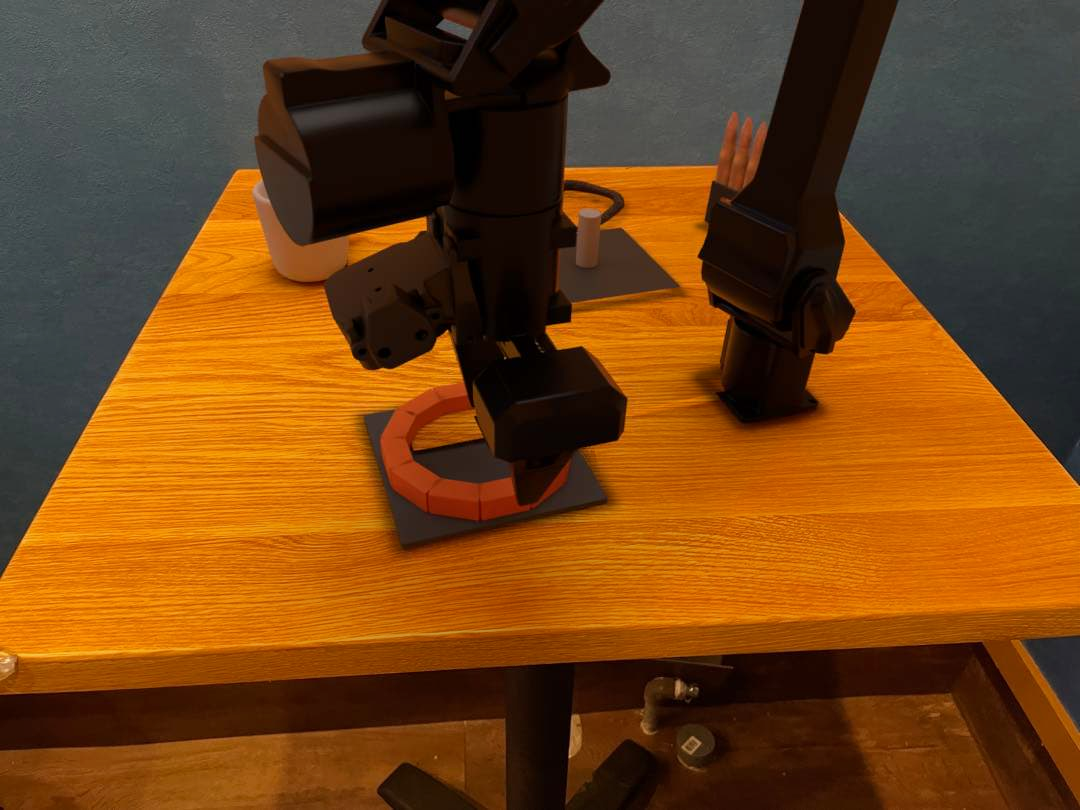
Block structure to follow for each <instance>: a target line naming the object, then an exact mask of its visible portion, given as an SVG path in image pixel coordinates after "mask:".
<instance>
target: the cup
mask: <svg viewBox="0 0 1080 810" xmlns="http://www.w3.org/2000/svg"><path fill="white" fill-rule="evenodd" d="M251 194H252V198H253V202H254V205H255V209H256V211H257V215H258V218H259V222H260V226H261V228H262V232H263V235H264V239H265V242H266V245H267V249H268V252H269V256H270V258H271V261H272V264H273V266H274V268H275V269H276V271H277V272H278V273H279V274H280V275H281V276H282V277H284V278H286V279H289V280H290V281H294V282H295V281H296V282H303V283H314V282H320V281H324V280H325V281H326V280H327V279H328V278H329V277H330V276H331V275H332V274H334V273H335V272H337V271H339V270H341V269H343V268H345V267H346V265H347V263H348V261H349V247H350V245H349V235H348V236H344V237H340V238H336V239H331V240H327V241H323V242H319V243H315V244H311V245H307V246H303V247H301V246H299V245H297V244H295V243H294V242H293V241H292V240H291V239H290V238H289V236H288V235H287V233H286V232H285V231H284V229H283V227H282V226H281V224H280V222H279V220H278V218H277V216H276V214H275V212H274V210H273V207H272V205H271V203H270V200H269V197H268V195H267V192H266V189H265V186H264V183H263V179H262V178H261V179H260V180H259V181H258V182H256V184H255V185H254V186H253V188H252V193H251Z"/></svg>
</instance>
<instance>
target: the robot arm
mask: <svg viewBox="0 0 1080 810" xmlns="http://www.w3.org/2000/svg"><path fill="white" fill-rule="evenodd" d="M605 1H606V0H380V2H379V4H378V6H377V8H376V10H375V12H374V14H373V16H372V18H371V20H370V21H369V24H368V26H367V28H366V29H365V32H364V33H363V35H362V38H361V46H362V48H363V49H364V50H365V51H366V52H365V53H358V54H351V55H342V56H334V57H326V58H315V59H314V58H308V57H300V56H289V57H284V58H283V57H281V58H274V59H267V60H266V61H265V62H264V63H263V65H262V72H263V79H264V85H265V91H266V94H265V95H264V96H263V97H262V98H261V99H260V102H259V107H258V111H257V112H258V113H257V135H254V136H253V142H254V143H253V144H254V150H255V155H256V160H257V165H258V168H259V172H260V177H261V180H262V179H263V183H264V186H265V189H266V192H267V195H268V197H269V200H270V203H271V205H272V207H273V210H274V212H275V214H276V216H277V218H278V220H279V222H280V224H281V226H282V227H283V229H284V231H285V232H286V233H287V235H288V236H289V238H290V239H291V240H292V241H293V242H294V243H295V244H297V245H299V246H301V247H303V246H307V245H311V244H315V243H319V242H323V241H327V240H331V239H336V238H340V237H344V236H348V237H349V236H352V235H356V234H360V233H364V232H368V231H372V230H373V231H374V230H376V229H381V228H384V227H388V226H393V225H398V224H400V223H404V222H410V221H414V220H418V219H421V218H425V219H426V230H420V231H419V232H418V234H416V236H414V237H413V238H412V239H410V240H407V241H402V242H397V243H394V244H392V245H390V246H387V247H385V248H383V249H381V250H379V251H377V252H375V253H373V254H370V255H368V256H366V257H364V258H362V259H360V260H358V261H355V262H353V263H352V264H349V265H347V266H345V267H344V268H343V269H341V270H339V271H337V272H335V273H334V274H332V275H331V276H330V277H329V278H328V279H325V282H324V284H323V290H324V293H325V296H326V300H327V303H328V308H329V310H330V313H331V317H332V319H333V320H334V322H335V324H336V326H337V327H338V329H339V330H340V332H341V334H342V336H343V337H344V339H345V340H346V342H347V343H348V345H349V349H350V353H351V355H352V357H353V358H354V359H355V360H356V361H358V362H359V363H360V365H361V367H362V368H363V369H364V370H367V371H377V370H381V369H386V370H394V369H396V368H398V367H400V366H403V365H405V364H407V363H409V362H411V361H413V360H415V359H417V358H419V357H421V356H423V355H426V354H427V353H430V352H431V351H433V349H434V347H435V345H436V343H437V341H438V340H437V339H438V338H440V337H441V336H442V335H444V334H445V333H446V332H448V335H449V338H450V343H451V345H452V349H453V351H454V352H453V353H454V355H455V358H456V362H457V365H458V369H459V371H460V375H461V379H462V382H464V386H465V389H466V392H467V396H468V399H469V402H470V405H471V406H472V407H474V408H473V409H474V410H475V415H473V418H474V421H475V422H476V425H477V427H478V428H479V431H480V432H481V436H482V438H484V439H485V441H486V444H487V446H488V447H489V449H490V450H491V451H492V453H493V455H494V457H495V458H498V459H501V460H504V461H507V462H508V465H509V470H510V475H511V480H512V485H513V489H514V493H515V498H516V501H517V503H518V505H519V506H525V505H530V504H534V503H536V502H538V501H539V499H540V498H541V497H542V495H543V494H544V493H545V492H546V490H547V489H548V488H549V486H550V485H551V484H552V482H553V481H554V480H555V478H556V477H557V476H558V475H559V473H560V472H561V471H562V469H563V468H564V467H565V465H566V464H567V463H568V462H569V460H570V459H571V458H572V457H573V456H574V454H575V453H576V452H577V451H578V450H579V451H580V450H581V449H584V448H589V447H594V446H598V445H603V444H609V443H613V442H618V441H619V439H620V438H621V437H622V435H623V433H624V432H625V426H626V416H627V408H628V399H629V398H628V397H627V395H626V394H625V392H623V390H622V389H621V387H620V386H619V385H618V383H617V381H615V380H614V378H613V377H612V375H611V374H610V372H609V371H608V370H607V369H606V367H605V366H604V364H603V363H602V361H600V359H599V358H598V357H596V355H594V354H593V353H591V352H590V351H589V350H588V349H587V348H585V347H584V346H583V345H580V346H574V347H568V348H562V349H559V348H557V346H556V344H555V342H553V340H552V339H551V337H550V335H549V334H548V333H547V327H549V326H555V325H562V324H568V323H569V324H570V323H572V313H573V312H572V311H573V303H570V301H569V300H568V299H567V297H566V296H565V295H564V293H563V292H562V291H561V289H560V288H559V274H560V254H561V248H568V247H576V234H577V233H578V232H577V226H578V225H577V224H575V223H574V221H572V220H571V218H570V217H569V216H568V215H567V213H565V212H564V191H565V190H564V180H565V173H566V172H565V171H566V170H565V168H566V151H567V150H566V148H567V131H568V130H567V129H568V109H569V93H573V92H577V91H584V90H589V89H595V88H601V87H605V86H606V85H608V84H609V82H610V80H611V77H612V76H611V75H612V74H611V70H610V69H609V68H608V67H607V66H606V65H605V64H603V62H602V61H601V60H599V58H598V57H596V56H595V55H594V54H593V52H591V50H590V49H589V48H588V46H587V45H586V44H585V42H584V40H583V38H582V35H581V33H580V32H579V31H580V29H581V28H582V27H583V26H584V25H585V24H586V23H587V22H588V20H589V19H590V18H591V17H592V16H593V15H594V14H595V12H596V11H597V10H598V9H599V8H600V7H601V5H603V3H604V2H605ZM899 1H900V0H803V1H802V5H801V9H800V12H799V15H798V19H797V22H796V26H795V30H794V34H793V37H792V40H791V44H790V48H789V51H788V56H787V58H786V62H785V66H784V68H783V73H782V76H781V80H780V83H779V88H778V91H777V95H776V99H775V102H774V106H773V109H772V113H771V116H770V119H769V120H770V121H769V124H768V127H767V134H766V138H765V141H764V145H763V149H762V152H761V156H760V159H759V163H758V167H757V170H756V173H755V175H754V178H753V179H752V180H751V181H750V182H749V183H748V184H747V185H746V186H745V187H744V188H743V189H742V190H741V191H740V192H739V193H738V194H737V195H736V196H735V197H734V198H733V199H732V200H731V201H730V202H726V201H718V202H717V203H716V204H715V205H714V207H713V208H712V210H711V212H710V219H709V223H708V228H707V233H706V236H705V238H704V242H703V244H702V246H701V248H700V250H699V252H698V254H697V259H699V260H700V261H702V262H701V269H700V273H701V274H700V275H701V281H702V282H704V283H705V286H706V289H707V295H708V302H709V305H710V306H711V307H713V308H715V309H718V310H720V311H721V312H724V313H725V314H727V315H729V319H727V323H726V328H725V333H724V339H723V345H722V348H721V354H720V359H719V364H720V365H719V366H720V367H719V369H720V370H721V371H722V373H721V378H720V383H721V386H722V388H723V390H722V391H716V392H714V394H715V395H716V396H717V397H718V399H720V401H721V402H722V403H723V404H724V405H725V406H726V407H727V408H728V409H729V411H730V412H731V413H732V414H733V415H734V416H735V417H736V419H737V420H738V421H740V423H743V424H746V425H748V424H753V423H757V422H762V421H768V420H772V419H773V420H774V419H777V418H782V417H787V416H791V415H796V414H800V413H806V412H810V411H816V410H818V408H819V404H820V402H819V400H818V399H817V398H816V396H814V395H813V394H812V393H811V391H809V390H808V389H807V385H808V381H809V378H810V374H811V372H812V367H813V363H814V360H815V357H816V355H817V354H818V355H825V356H826V355H829V354H831V353H832V354H833V352H834V349H835V346H836V343H838V342H839V341H841V340H843V339H844V337H845V335H846V333H847V332H848V331H849V329H850V326H851V324H852V322H853V319H854V318H855V316H856V312H857V310H856V308H855V307H854V306H853V304H852V303H851V301H850V299H849V298H848V296H847V294H846V293H845V291H844V290H843V289H842V287H841V285H840V283H839V282H838V281H837V278H838V273H839V270H840V266H841V262H842V257H843V253H844V250H845V245H846V239H845V234H844V229H843V225H842V220H841V216H840V211H839V206H838V202H837V197H836V193H837V189H838V185H839V181H840V179H841V176H842V172H843V169H844V166H845V163H846V161H847V157H848V154H849V151H850V148H851V145H852V143H853V139H854V136H855V133H856V131H857V127H858V125H859V122H860V121H859V120H860V118H861V115H862V112H863V109H864V106H865V104H866V100H867V98H868V94H869V91H870V88H871V85H872V82H873V79H874V76H875V73H876V71H877V67H878V64H879V61H880V58H881V56H882V55H881V54H882V53H883V49H884V47H885V42H886V40H887V37H888V34H889V31H890V28H891V26H892V22H893V19H894V16H895V13H896V10H897V7H898V4H899ZM444 20H446V21H449V22H451V23H453V24H454V23H455V24H456V25H460V26H462V27H464V28H467V29H470V30H472V31H471V33H470V35H469V37H468V38H464V37H461V36H460V35H457V34H454V33H453V32H449V31H447V30H444V29H442V28H440V27H438V26H439V25H440V24H441V23H442V22H443V21H444Z"/></svg>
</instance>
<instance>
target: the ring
mask: <svg viewBox="0 0 1080 810" xmlns="http://www.w3.org/2000/svg"><path fill="white" fill-rule="evenodd" d="M395 409H396V410H395ZM395 409H394V410H395V412H394V414H393V415H392V417H391V419H390V421H389V423H388V424H387V426H386V428H385V430H384V432H383V434H382V435H381V440H380V442H381V452H382V458H383V462H384V465H385V468H386V472H387V475H388V478H389V481H390V485H391V487H393V490H395V491H396V492H397V493H399V494H400V495H402V496H403V497H405V498H406V499H408V500H409V501H411V502H412V503H414V504H415V505H416V506H418V507H419V508H421V509H422V510H424V511H425V512H428V511H429V512H430V513H431V514H437V515H443V516H450V517H456V518H463V519H469V520H476V521H479V519H480V518H481V520H482V521H484V520H488V519H493V518H497V517H501V516H506V515H510V514H515V513H519V512H524V511H528V510H530V508H532V509H533V508H535V507H536V506H537V505H538V504H540V503H541V502H542V501H543V500H545V499H546V498H547V497H549V496H550V495H551V494H552V493H554V492H555V491H556V490H557V489H559V488H560V487H561V486H562V485H564V482H566V479H567V474H568V470H569V466H570V462H571V459H570V460H569V462H568V463H567V464H566V465H565V467H564V468H563V469H562V471H561V472H560V473H559V475H558V476H557V477H556V478H555V480H554V481H553V482H552V484H551V485H550V486H549V488H548V489H547V490H546V492H545V493H544V494H543V495H542V497H541V498H540V499H539V501H538V502H536V503H534V504H530V505H525V506H519V505H518V503H517V501H516V498H515V493H514V489H513V485H512V480H511V477H510V478H505V479H500V480H496V481H491V482H486V483H481V484H476V483H470V482H463V481H456V480H450V479H443V478H440V477H438V476H437V475H435V474H434V473H432V472H431V471H429V470H428V469H426V468H424V467H423V466H421V465H420V464H418V463H417V462H415V461H414V460H413V457H412V455H411V452H410V448H411V446H412V447H413V445H412V442H413V441H414V438H415V437H416V434H417V433H418V431H419V430H420V429H422V428H423V427H425V426H427V425H428V424H430V423H432V422H433V421H434V420H436V419H438V418H440V417H441V416H443V415H445V414H451V413H455V412H461V411H467V410H472V409H475V408H474V407H472V406H471V405H470V402H469V399H468V396H467V392H466V389H465V386H464V382H463V381H462V382H457V383H451V384H445V385H440V386H433V387H432V388H429V389H427V390H426V391H424V392H422V393H420V394H418V395H417V396H415V397H413V398H411V399H409V400H408V401H406V402H405V403H403V404H402V405H400V406H398V407H397V408H395ZM397 409H398V410H397Z"/></svg>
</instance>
